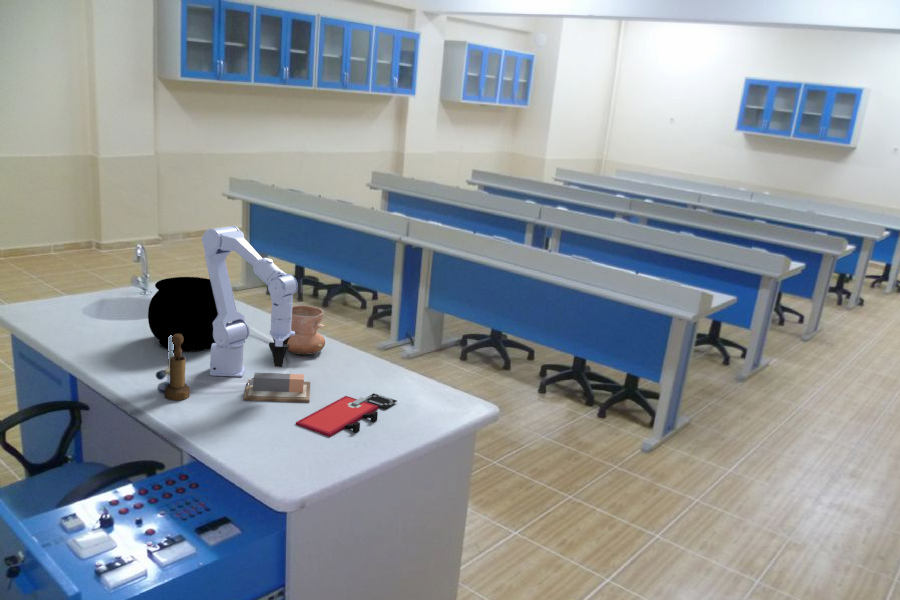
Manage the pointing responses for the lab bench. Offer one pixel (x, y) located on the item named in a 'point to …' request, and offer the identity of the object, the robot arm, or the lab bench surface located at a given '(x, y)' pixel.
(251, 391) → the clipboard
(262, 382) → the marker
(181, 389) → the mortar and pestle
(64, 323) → the lab bench surface
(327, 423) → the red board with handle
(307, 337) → the ceramic jug
